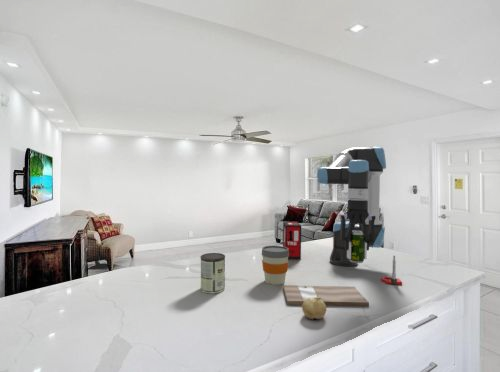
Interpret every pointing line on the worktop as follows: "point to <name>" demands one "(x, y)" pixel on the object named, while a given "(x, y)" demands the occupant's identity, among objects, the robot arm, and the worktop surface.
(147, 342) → the worktop surface
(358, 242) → the beer can
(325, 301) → the walnut board
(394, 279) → the tow hook
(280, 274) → the reusable coffee cup
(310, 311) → the onion
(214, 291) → the coffee can
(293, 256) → the cleaning product box
